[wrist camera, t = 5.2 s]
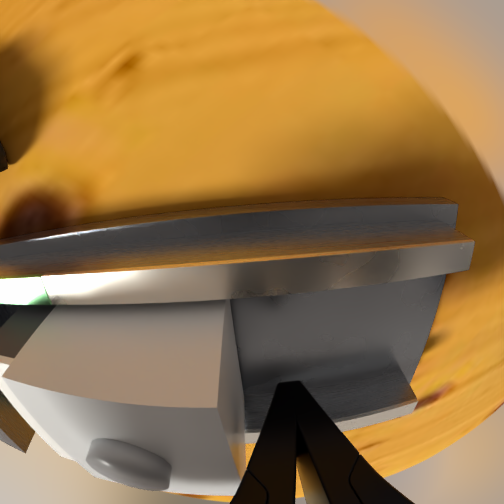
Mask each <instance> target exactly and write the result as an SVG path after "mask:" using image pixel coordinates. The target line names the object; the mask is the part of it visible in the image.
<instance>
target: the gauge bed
mask: <svg viewBox="0 0 504 504" xmlns="http://www.w3.org/2000/svg"><path fill="white" fill-rule="evenodd" d="M457 211H458V204H457V203H455V202H453V201H450V200H448V199H446V198H360V199H334V200H313V201H295V202H279V203H265V204H252V205H240V206H228V207H217V208H207V209H197V210H188V211H178V212H170V213H161V214H153V215H145V216H137V217H129V218H122V219H115V220H108V221H101V222H94V223H88V224H82V225H75V226H69V227H63V228H57V229H52V230H46V231H41V232H35V233H30V234H25V235H19V236H14V237H9V238H5V239H0V328H1V327H2V326H3V325H4V324H5V323H6V321H7V320H8V319H9V318H10V317H11V316H12V315H13V314H14V313H15V312H16V311H17V310H18V309H19V307H20V306H21V305H22V304H24V305H52V304H56V305H94V304H141V303H168V302H188V301H206V300H222V299H230V305H231V313H232V320H233V327H234V334H235V341H236V347H237V354H238V361H239V367H240V374H241V380H242V386H243V392H244V405H245V444H248V443H256V442H257V440H258V437H259V434H260V431H261V429H262V426H263V423H264V420H265V418H266V415H267V412H268V409H269V406H270V403H271V400H272V397H273V394H274V391H275V388H276V385H277V383H278V382H285V381H294V380H300V381H301V382H302V383H303V385H304V386H305V387H306V388H307V390H308V391H309V392H310V393H311V395H312V396H313V397H314V398H315V400H316V401H317V402H318V403H319V405H320V406H321V407H322V408H323V410H324V411H325V412H326V413H327V415H328V416H329V417H330V418H331V419H332V421H333V422H334V423H335V424H336V426H337V427H338V428H339V429H340V430H341V432H343V431H348V430H352V429H357V428H361V427H365V426H369V425H373V424H377V423H381V422H384V421H388V420H391V419H394V418H398V417H401V416H404V415H407V414H410V413H412V412H413V410H414V408H415V406H416V405H417V403H418V400H417V398H416V396H415V394H414V392H413V390H412V388H411V386H410V385H409V384H410V382H411V380H412V377H413V375H414V373H415V370H416V368H417V365H418V363H419V360H420V358H421V355H422V352H423V350H424V347H425V344H426V342H427V339H428V336H429V333H430V330H431V327H432V324H433V321H434V318H435V314H436V311H437V308H438V304H439V301H440V297H441V293H442V290H443V286H444V282H445V278H446V274H448V273H454V272H460V271H465V270H469V267H470V263H471V259H472V254H473V249H474V244H475V241H474V240H472V239H470V238H469V237H467V236H466V235H464V234H462V233H461V232H459V231H457V230H456V229H455V226H456V219H457ZM34 433H35V430H34V429H33V428H32V427H31V426H30V425H29V424H28V423H27V422H26V421H25V419H24V418H23V417H22V416H21V415H20V414H19V412H18V411H17V410H16V409H15V408H14V406H13V405H12V404H11V403H10V401H9V400H8V399H7V398H6V396H5V395H4V394H3V392H2V391H1V390H0V440H1V441H3V442H5V443H6V444H8V445H10V446H12V447H14V448H16V449H18V450H20V451H22V452H24V453H26V451H27V449H28V447H29V444H30V442H31V440H32V437H33V435H34Z"/></svg>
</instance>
